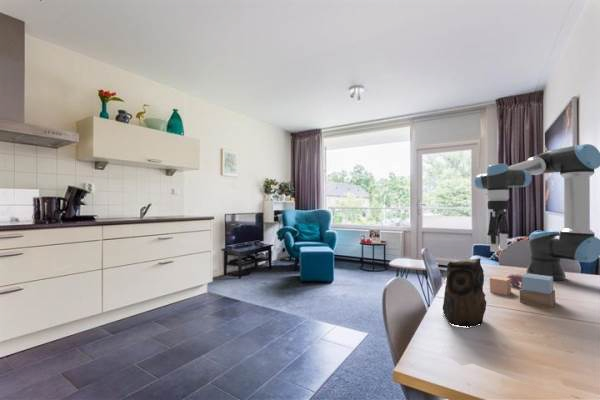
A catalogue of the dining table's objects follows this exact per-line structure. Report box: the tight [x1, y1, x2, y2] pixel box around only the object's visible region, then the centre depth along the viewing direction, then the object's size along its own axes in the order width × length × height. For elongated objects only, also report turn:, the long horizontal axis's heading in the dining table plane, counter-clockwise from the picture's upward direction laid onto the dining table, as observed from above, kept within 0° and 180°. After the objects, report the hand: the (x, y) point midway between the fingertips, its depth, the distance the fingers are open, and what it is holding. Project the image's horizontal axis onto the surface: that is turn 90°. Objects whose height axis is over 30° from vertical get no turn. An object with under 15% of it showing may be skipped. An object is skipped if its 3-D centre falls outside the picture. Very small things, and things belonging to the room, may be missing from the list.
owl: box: [442, 257, 487, 327], centre depth 90 cm, size 13×13×20 cm
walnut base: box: [519, 287, 556, 309], centre depth 107 cm, size 9×9×5 cm
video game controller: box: [506, 273, 524, 288], centre depth 127 cm, size 10×5×7 cm, turn 25°
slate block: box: [521, 272, 554, 294], centre depth 107 cm, size 8×8×5 cm
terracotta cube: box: [489, 275, 512, 296], centre depth 121 cm, size 6×6×6 cm
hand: (499, 250), depth 121 cm, fingers open, 13 cm apart
